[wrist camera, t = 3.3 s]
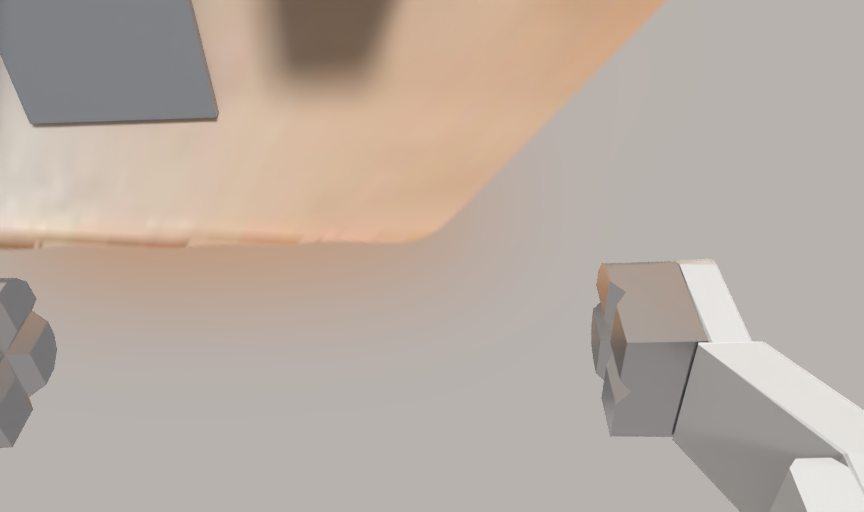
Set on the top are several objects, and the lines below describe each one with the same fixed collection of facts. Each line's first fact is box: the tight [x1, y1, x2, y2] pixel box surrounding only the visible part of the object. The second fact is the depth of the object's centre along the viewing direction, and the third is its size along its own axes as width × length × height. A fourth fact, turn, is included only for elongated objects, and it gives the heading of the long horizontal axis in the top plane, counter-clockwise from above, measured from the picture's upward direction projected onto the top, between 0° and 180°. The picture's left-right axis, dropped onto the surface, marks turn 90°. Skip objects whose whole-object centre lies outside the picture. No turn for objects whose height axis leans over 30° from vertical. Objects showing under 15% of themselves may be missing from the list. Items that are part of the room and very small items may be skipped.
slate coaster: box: [0, 0, 219, 124], centre depth 40 cm, size 11×11×1 cm
